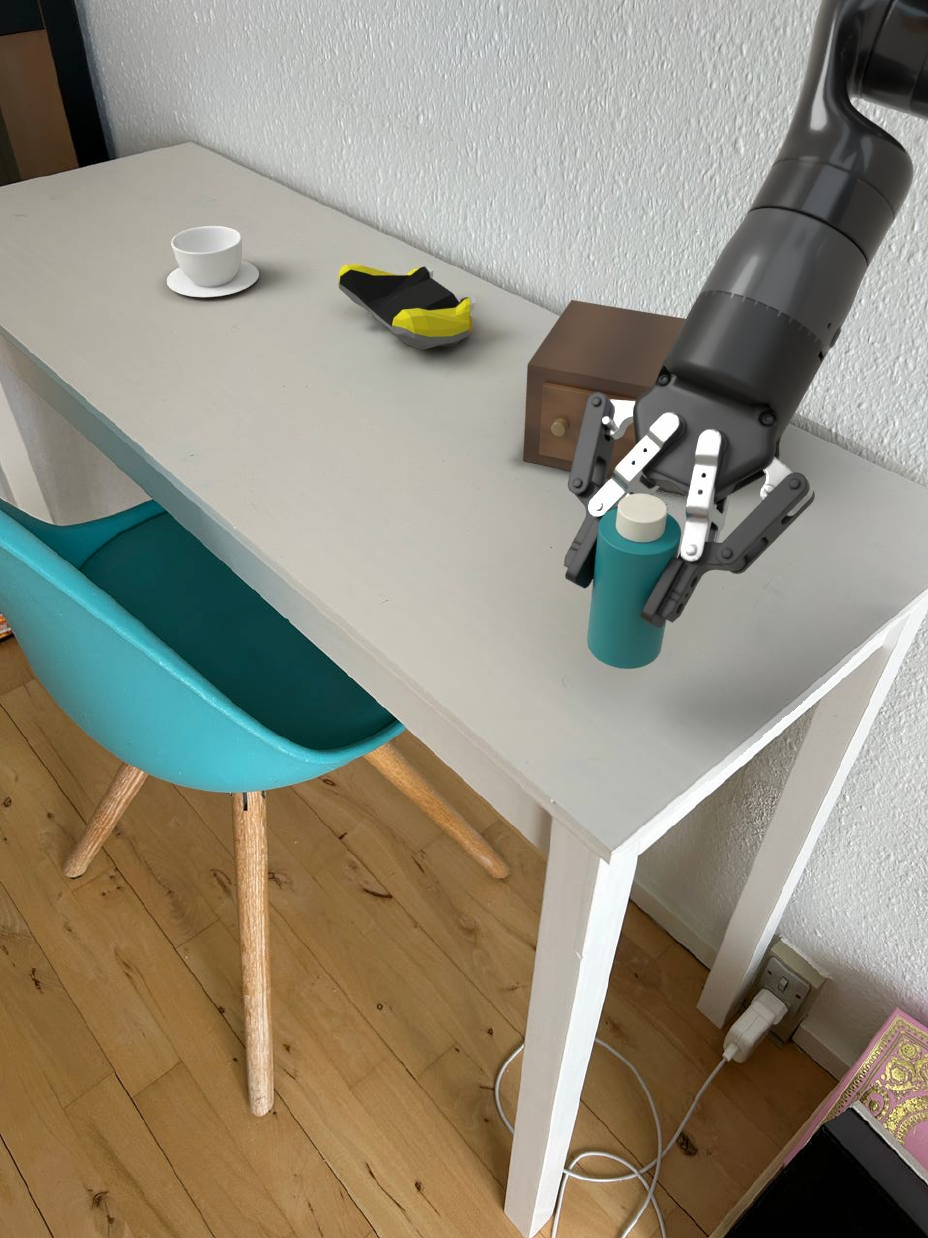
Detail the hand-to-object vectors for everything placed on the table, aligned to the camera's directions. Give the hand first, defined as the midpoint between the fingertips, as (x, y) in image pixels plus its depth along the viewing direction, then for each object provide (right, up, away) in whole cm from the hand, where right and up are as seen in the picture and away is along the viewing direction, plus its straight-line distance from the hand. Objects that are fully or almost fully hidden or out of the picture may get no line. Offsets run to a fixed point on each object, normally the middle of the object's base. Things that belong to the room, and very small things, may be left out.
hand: (613, 602), depth 54 cm
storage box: (+5, +14, +30) cm, 34 cm away
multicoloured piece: (-14, +28, +45) cm, 55 cm away
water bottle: (+1, -2, +4) cm, 5 cm away
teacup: (-36, +36, +54) cm, 74 cm away
